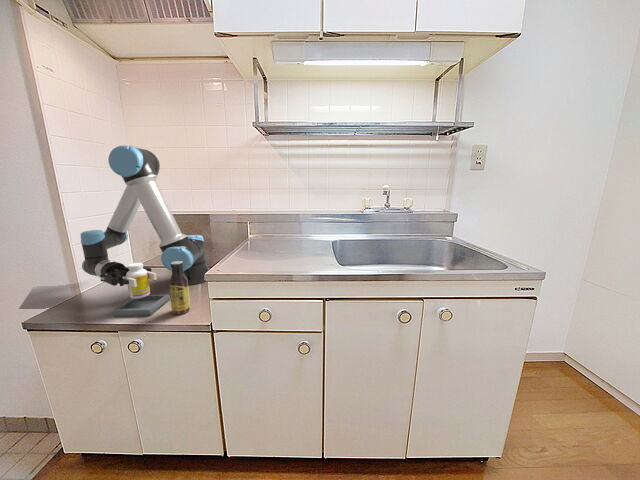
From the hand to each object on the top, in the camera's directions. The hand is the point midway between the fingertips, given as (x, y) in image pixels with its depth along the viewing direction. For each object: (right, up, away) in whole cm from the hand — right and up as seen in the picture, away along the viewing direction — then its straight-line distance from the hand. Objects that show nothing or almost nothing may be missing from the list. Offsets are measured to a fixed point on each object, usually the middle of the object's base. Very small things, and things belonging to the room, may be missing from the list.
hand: (145, 279), depth 96 cm
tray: (-4, -12, +5) cm, 14 cm away
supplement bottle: (-5, -7, +4) cm, 9 cm away
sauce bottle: (+13, -13, +2) cm, 18 cm away
